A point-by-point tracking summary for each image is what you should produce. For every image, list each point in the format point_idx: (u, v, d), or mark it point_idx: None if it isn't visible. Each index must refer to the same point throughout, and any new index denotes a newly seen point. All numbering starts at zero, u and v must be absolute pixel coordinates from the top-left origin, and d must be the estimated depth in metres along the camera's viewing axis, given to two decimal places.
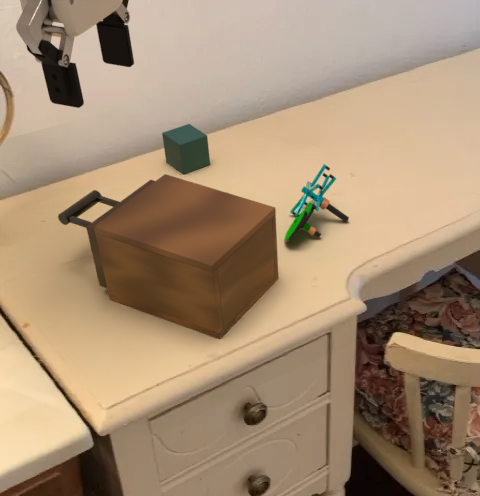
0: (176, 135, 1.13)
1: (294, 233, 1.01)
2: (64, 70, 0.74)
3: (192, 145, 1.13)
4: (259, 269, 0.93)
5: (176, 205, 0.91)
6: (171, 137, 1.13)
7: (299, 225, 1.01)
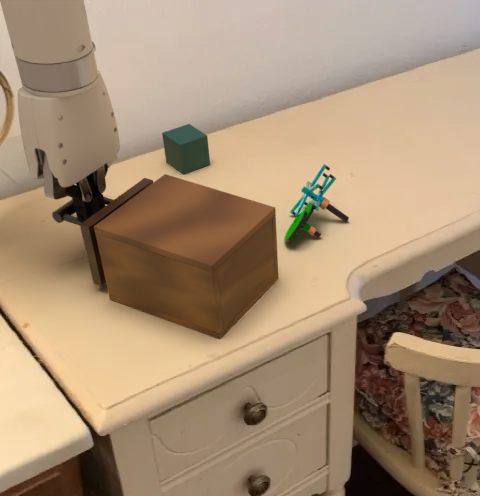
0: (176, 135, 1.13)
1: (294, 233, 1.01)
2: (87, 203, 0.93)
3: (192, 145, 1.13)
4: (259, 269, 0.93)
5: (176, 205, 0.91)
6: (171, 137, 1.13)
7: (299, 225, 1.01)
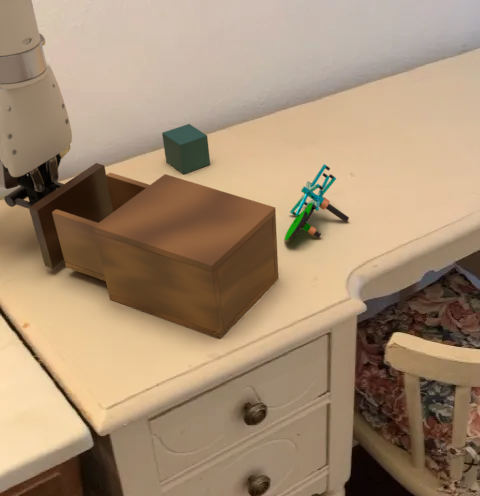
0: (176, 135, 1.13)
1: (294, 233, 1.01)
2: (40, 193, 0.96)
3: (192, 145, 1.13)
4: (259, 269, 0.93)
5: (176, 205, 0.91)
6: (171, 137, 1.13)
7: (299, 225, 1.01)
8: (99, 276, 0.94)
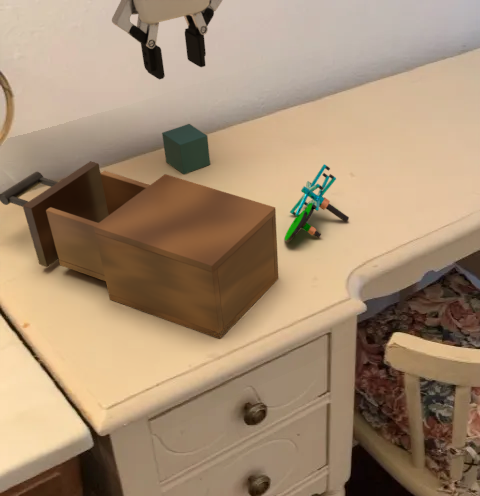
0: (176, 135, 1.13)
1: (294, 233, 1.01)
2: (151, 50, 1.03)
3: (192, 145, 1.13)
4: (259, 269, 0.93)
5: (176, 205, 0.91)
6: (171, 137, 1.13)
7: (299, 225, 1.01)
8: (93, 273, 0.94)
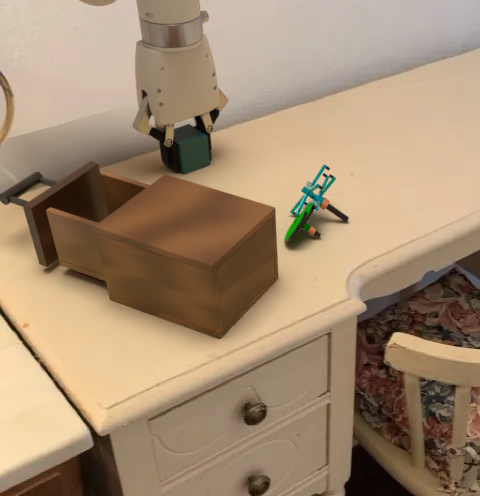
0: (176, 135, 1.13)
1: (294, 233, 1.01)
2: (169, 148, 1.12)
3: (192, 145, 1.13)
4: (259, 269, 0.93)
5: (176, 205, 0.91)
6: None
7: (299, 225, 1.01)
8: (93, 273, 0.94)
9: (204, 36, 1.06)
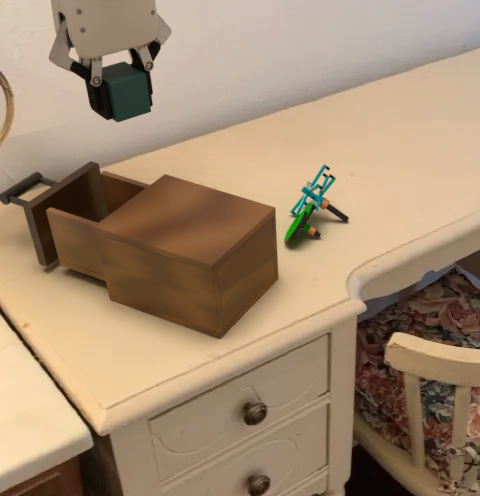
0: (107, 74, 0.92)
1: (294, 233, 1.01)
2: (97, 88, 0.90)
3: (126, 86, 0.91)
4: (259, 269, 0.93)
5: (176, 205, 0.91)
6: None
7: (299, 225, 1.01)
8: (93, 273, 0.94)
9: None
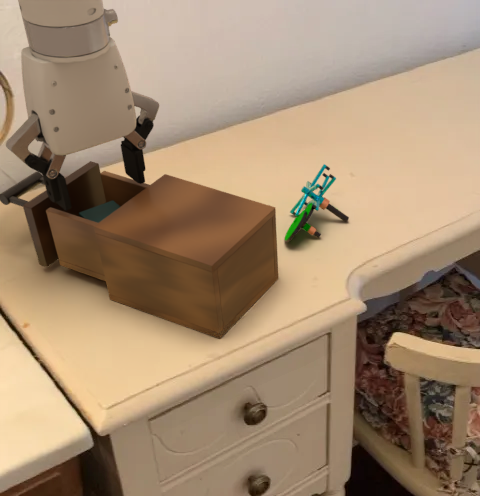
0: (96, 216, 0.94)
1: (294, 233, 1.01)
2: (54, 180, 0.87)
3: None
4: (259, 269, 0.93)
5: (176, 205, 0.91)
6: (88, 218, 0.94)
7: (299, 225, 1.01)
8: (93, 273, 0.94)
9: (112, 42, 0.83)
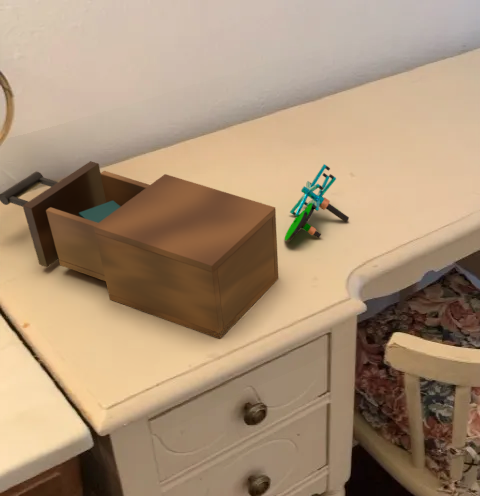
0: (96, 216, 0.94)
1: (294, 233, 1.01)
2: None
3: None
4: (259, 269, 0.93)
5: (176, 205, 0.91)
6: (88, 218, 0.94)
7: (299, 225, 1.01)
8: (93, 273, 0.94)
9: None
